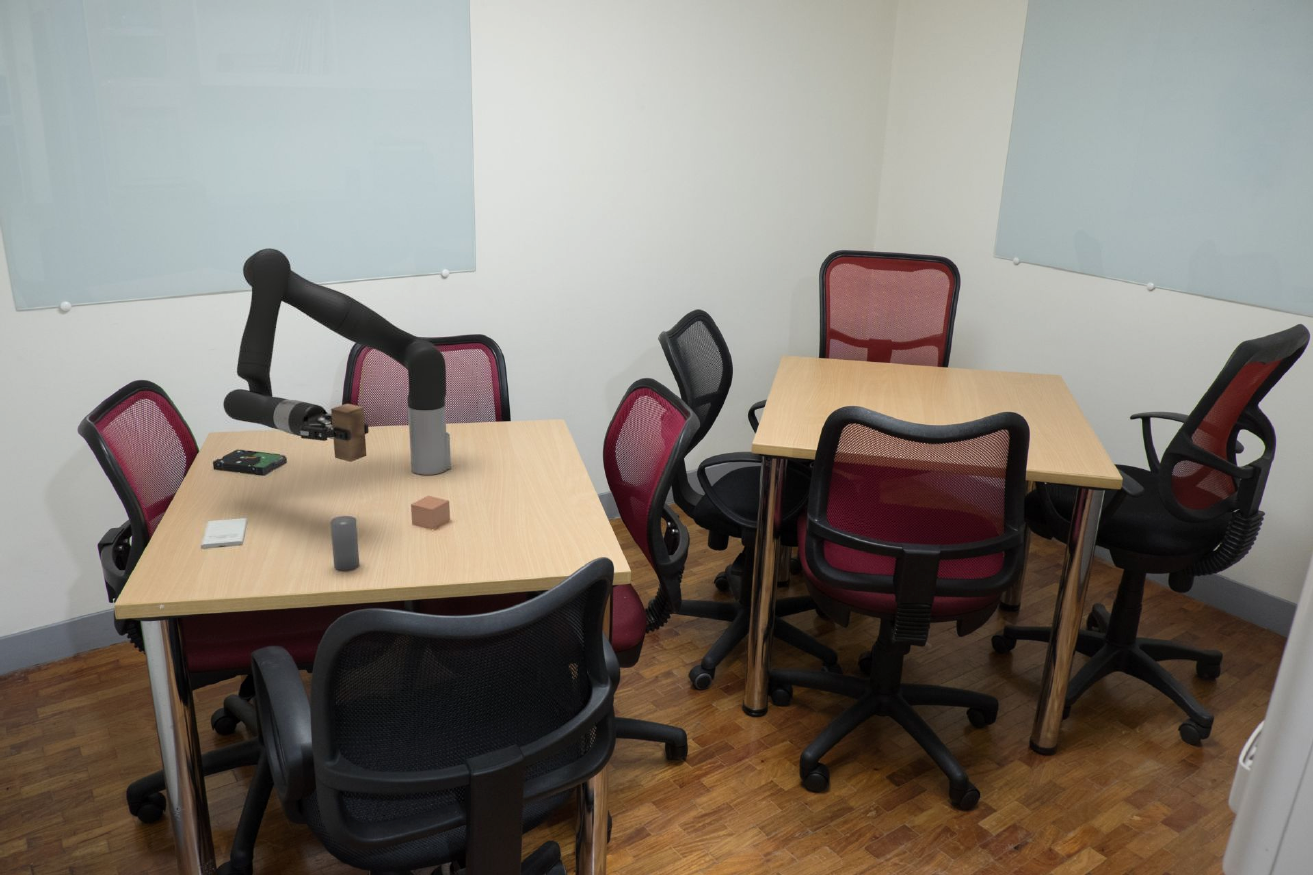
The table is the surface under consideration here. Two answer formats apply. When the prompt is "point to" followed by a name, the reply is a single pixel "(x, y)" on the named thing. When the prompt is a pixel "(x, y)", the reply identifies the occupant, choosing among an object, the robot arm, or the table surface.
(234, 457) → the disk drive
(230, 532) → the external hard drive
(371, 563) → the table surface
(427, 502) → the terracotta block
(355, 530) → the charcoal cylinder
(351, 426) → the walnut column
